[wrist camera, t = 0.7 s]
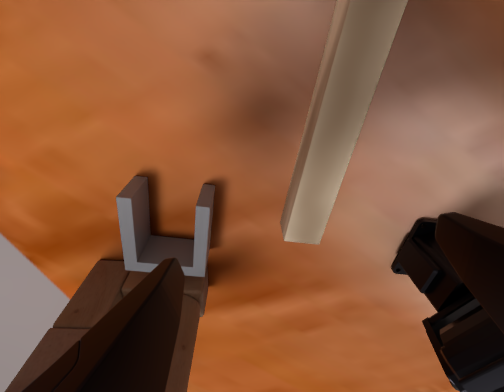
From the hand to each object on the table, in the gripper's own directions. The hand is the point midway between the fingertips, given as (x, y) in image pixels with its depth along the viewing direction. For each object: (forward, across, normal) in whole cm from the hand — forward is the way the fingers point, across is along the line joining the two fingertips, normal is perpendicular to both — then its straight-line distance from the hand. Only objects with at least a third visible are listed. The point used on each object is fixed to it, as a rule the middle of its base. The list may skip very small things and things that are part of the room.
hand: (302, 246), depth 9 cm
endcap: (+12, +10, +4) cm, 16 cm away
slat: (+13, -5, -2) cm, 14 cm away
